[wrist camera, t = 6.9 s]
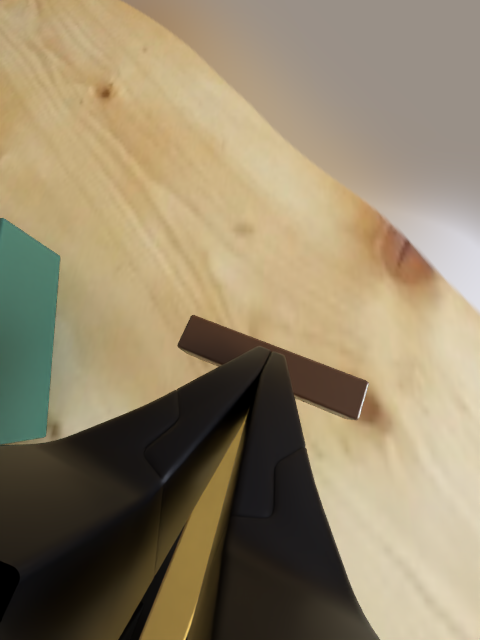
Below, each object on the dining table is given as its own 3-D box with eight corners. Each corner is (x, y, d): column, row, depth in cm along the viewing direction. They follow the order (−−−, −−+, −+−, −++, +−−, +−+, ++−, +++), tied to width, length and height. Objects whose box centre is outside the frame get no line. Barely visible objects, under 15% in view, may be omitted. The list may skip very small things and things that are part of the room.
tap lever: (202, 327, 11) (186, 307, 9) (353, 386, 10) (378, 379, 8) (-25, 823, 8) (-145, 992, 6) (167, 997, 7) (115, 1299, 4)
